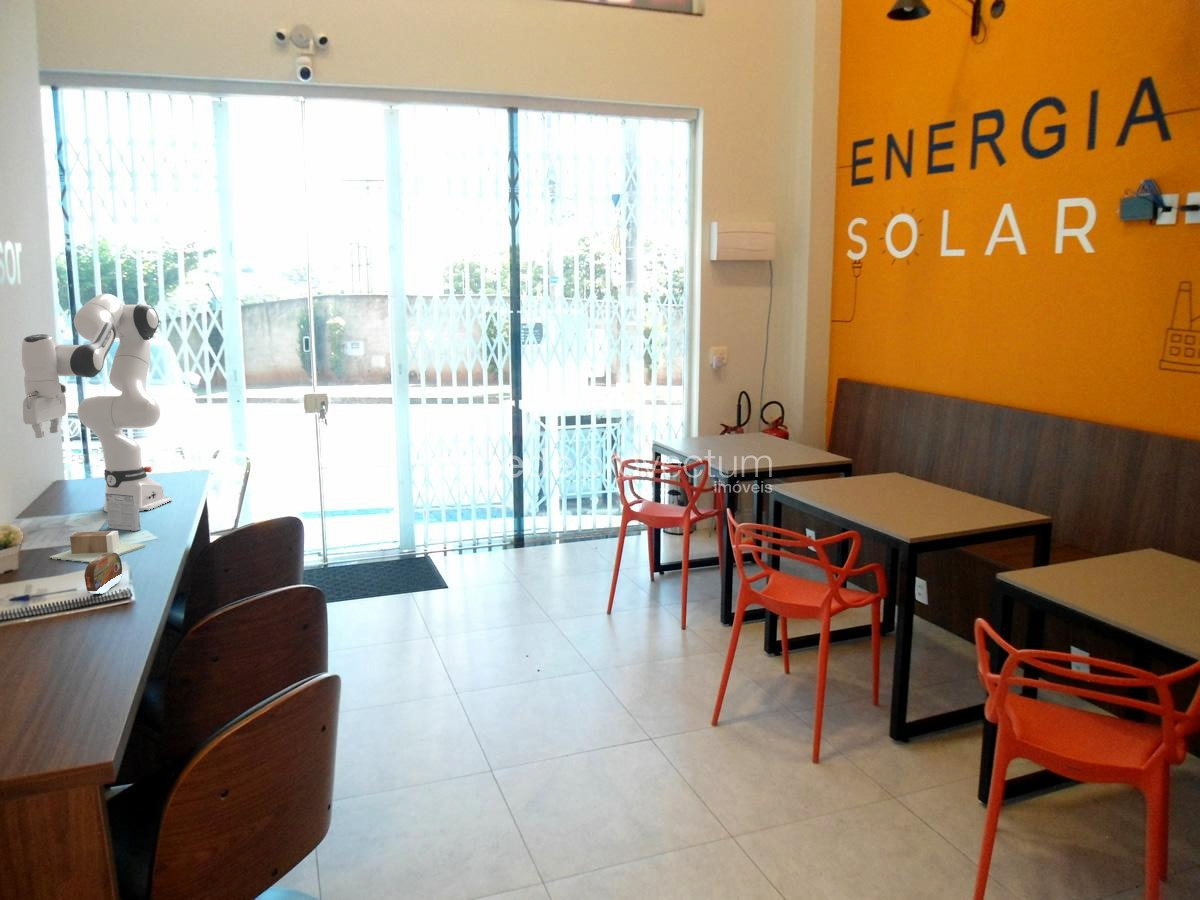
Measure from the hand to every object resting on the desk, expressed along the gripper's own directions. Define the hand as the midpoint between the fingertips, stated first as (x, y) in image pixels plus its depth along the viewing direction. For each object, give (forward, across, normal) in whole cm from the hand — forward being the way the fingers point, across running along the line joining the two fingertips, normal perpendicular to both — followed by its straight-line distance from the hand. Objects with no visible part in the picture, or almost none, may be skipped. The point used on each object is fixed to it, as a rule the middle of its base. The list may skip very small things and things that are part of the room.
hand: (47, 435), depth 270 cm
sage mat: (+31, -21, -20) cm, 43 cm away
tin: (+32, -55, -34) cm, 72 cm away
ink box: (+31, +5, -18) cm, 36 cm away
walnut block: (+28, -21, -14) cm, 38 cm away
